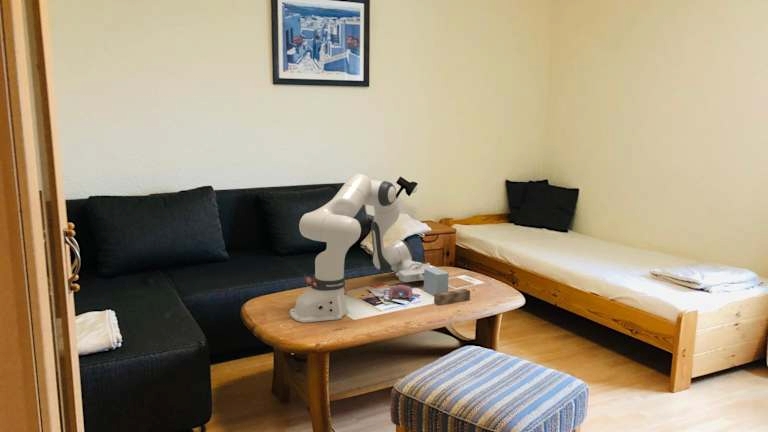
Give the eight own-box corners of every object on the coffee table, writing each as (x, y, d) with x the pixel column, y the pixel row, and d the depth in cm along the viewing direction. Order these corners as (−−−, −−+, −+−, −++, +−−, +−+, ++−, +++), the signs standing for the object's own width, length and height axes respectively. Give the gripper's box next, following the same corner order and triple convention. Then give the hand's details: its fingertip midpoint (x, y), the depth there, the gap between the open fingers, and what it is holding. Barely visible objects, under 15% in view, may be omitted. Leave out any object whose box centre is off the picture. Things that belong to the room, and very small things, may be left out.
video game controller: (412, 302, 242) (413, 286, 244) (411, 300, 237) (412, 284, 239) (388, 301, 243) (389, 284, 245) (388, 299, 238) (389, 283, 240)
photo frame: (485, 282, 264) (456, 288, 254) (485, 284, 265) (456, 290, 255) (464, 274, 276) (435, 280, 266) (464, 276, 276) (435, 282, 266)
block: (436, 297, 244) (437, 274, 242) (423, 290, 253) (424, 269, 251) (447, 295, 247) (448, 273, 245) (435, 289, 255) (435, 267, 254)
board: (438, 305, 234) (438, 296, 233) (434, 303, 236) (434, 293, 236) (469, 299, 241) (470, 290, 241) (465, 297, 244) (465, 288, 243)
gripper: (393, 267, 260) (409, 274, 248) (431, 262, 269) (448, 269, 258) (393, 280, 261) (408, 288, 249) (430, 275, 271) (447, 283, 259)
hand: (429, 279), depth 253 cm, fingers closed
